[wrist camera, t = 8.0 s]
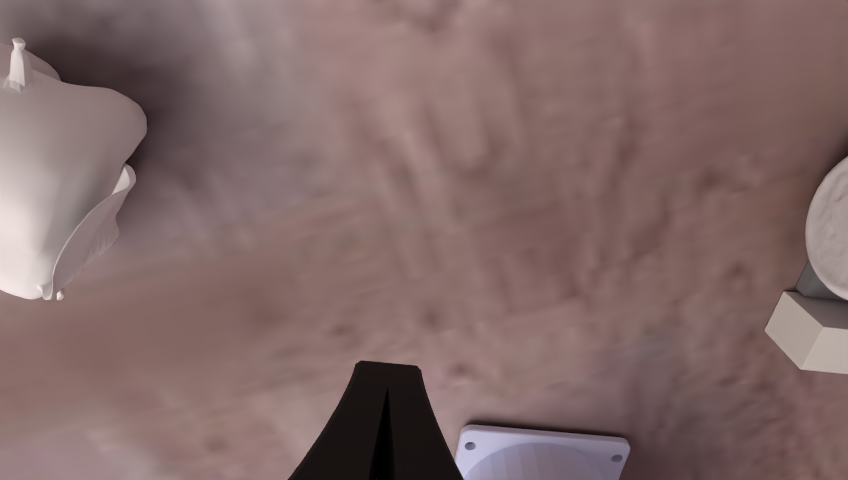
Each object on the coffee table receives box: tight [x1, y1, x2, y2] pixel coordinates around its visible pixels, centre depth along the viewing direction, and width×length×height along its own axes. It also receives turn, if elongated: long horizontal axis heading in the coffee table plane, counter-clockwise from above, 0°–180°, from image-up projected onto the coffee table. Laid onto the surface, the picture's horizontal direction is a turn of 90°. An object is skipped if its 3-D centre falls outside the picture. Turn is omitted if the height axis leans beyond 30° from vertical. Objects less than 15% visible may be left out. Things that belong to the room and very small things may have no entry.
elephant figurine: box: [0, 38, 147, 300], centre depth 17 cm, size 8×10×7 cm
